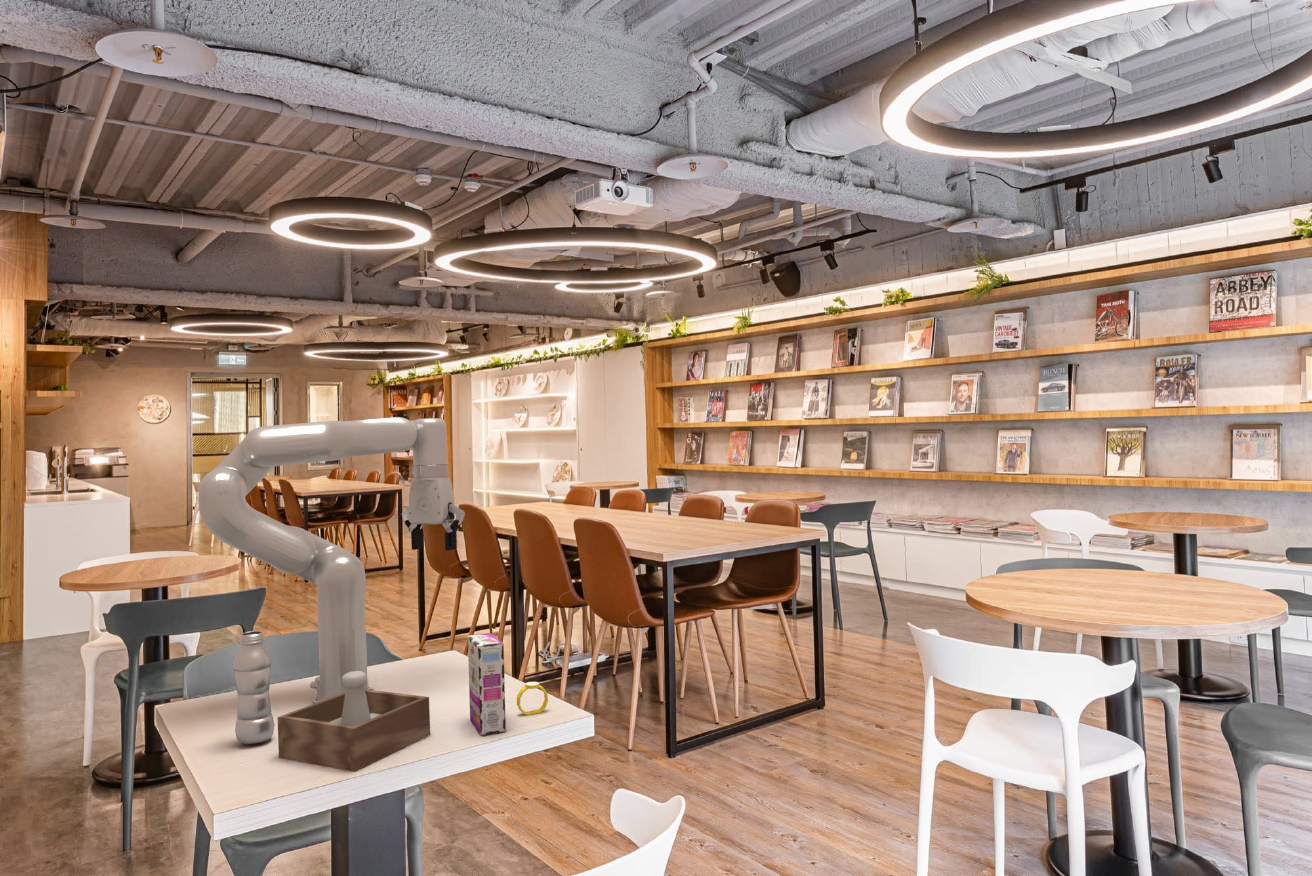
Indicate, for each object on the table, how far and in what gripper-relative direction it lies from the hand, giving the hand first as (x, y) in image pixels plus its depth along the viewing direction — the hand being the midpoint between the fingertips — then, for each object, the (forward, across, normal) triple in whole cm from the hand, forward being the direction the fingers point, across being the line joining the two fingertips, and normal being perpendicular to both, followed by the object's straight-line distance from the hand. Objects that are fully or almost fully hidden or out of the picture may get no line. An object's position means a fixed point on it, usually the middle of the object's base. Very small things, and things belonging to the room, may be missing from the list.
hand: (434, 549), depth 185 cm
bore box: (+30, +12, -36) cm, 49 cm away
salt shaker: (+31, +12, -36) cm, 48 cm away
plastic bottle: (+30, -8, -41) cm, 52 cm away
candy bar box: (+31, +28, -19) cm, 45 cm away
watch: (+31, +32, -10) cm, 45 cm away
